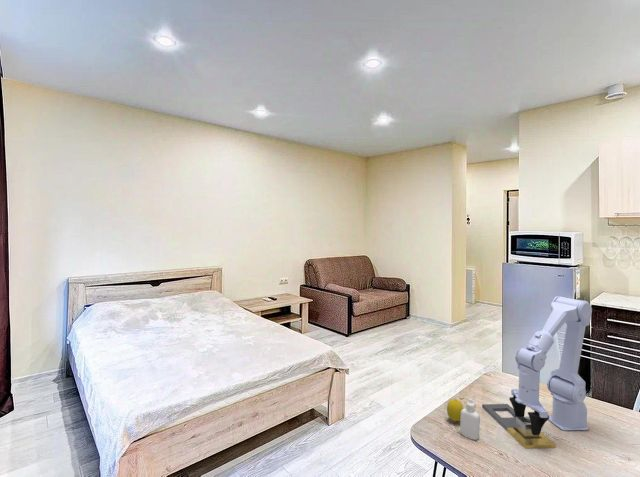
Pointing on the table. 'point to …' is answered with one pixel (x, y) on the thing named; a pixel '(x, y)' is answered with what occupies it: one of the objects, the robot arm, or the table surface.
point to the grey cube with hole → (524, 428)
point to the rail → (510, 427)
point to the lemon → (454, 409)
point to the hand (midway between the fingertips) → (527, 427)
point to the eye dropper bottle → (470, 421)
